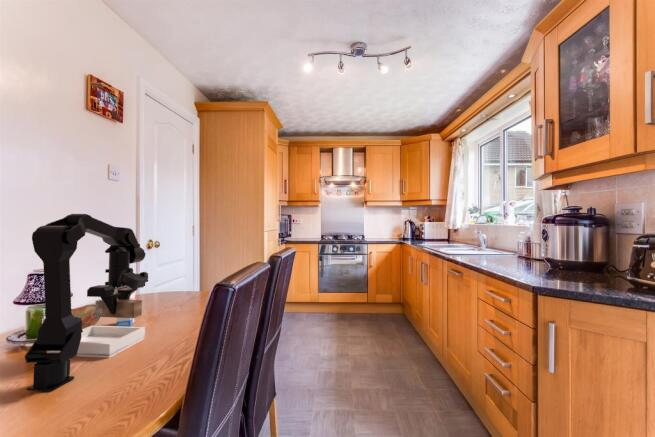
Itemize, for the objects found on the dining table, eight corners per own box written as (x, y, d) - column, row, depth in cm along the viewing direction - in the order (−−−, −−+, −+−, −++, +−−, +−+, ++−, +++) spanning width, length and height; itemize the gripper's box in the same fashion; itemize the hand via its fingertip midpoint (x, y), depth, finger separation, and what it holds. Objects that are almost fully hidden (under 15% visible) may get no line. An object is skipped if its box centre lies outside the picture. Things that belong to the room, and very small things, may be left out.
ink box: (130, 327, 120) (131, 297, 121) (115, 328, 118) (116, 298, 119) (135, 321, 128) (135, 292, 129) (121, 322, 126) (122, 293, 127)
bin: (109, 357, 92) (109, 344, 92) (47, 355, 93) (48, 342, 94) (144, 338, 108) (145, 327, 108) (91, 336, 109) (92, 325, 110)
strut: (91, 316, 100) (92, 301, 100) (102, 313, 104) (102, 298, 104) (133, 318, 99) (133, 302, 99) (141, 314, 103) (142, 299, 103)
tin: (63, 335, 111) (63, 312, 111) (56, 334, 111) (57, 311, 112) (101, 323, 125) (102, 302, 126) (95, 322, 126) (95, 301, 126)
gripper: (120, 269, 92) (118, 322, 91) (159, 263, 110) (158, 306, 110) (86, 269, 93) (84, 320, 92) (131, 262, 111) (129, 305, 111)
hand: (117, 312), depth 101 cm, fingers closed on strut, 4 cm apart
